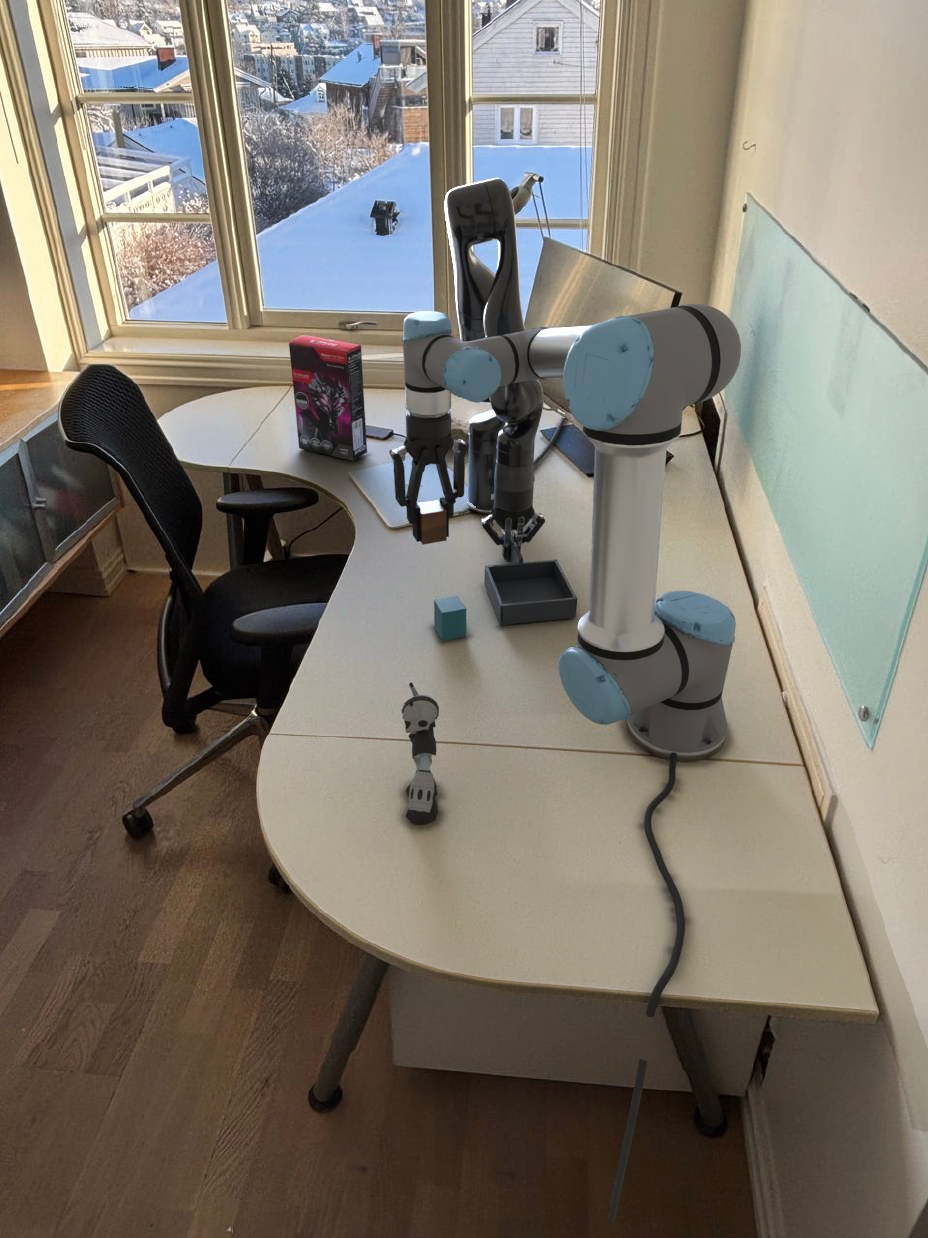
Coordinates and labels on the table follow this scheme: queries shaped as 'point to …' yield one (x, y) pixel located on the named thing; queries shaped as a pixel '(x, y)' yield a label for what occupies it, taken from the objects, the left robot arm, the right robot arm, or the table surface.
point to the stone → (460, 430)
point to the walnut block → (432, 522)
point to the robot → (421, 756)
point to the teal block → (450, 618)
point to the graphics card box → (329, 396)
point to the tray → (529, 590)
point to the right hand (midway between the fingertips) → (430, 535)
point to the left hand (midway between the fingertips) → (511, 560)
